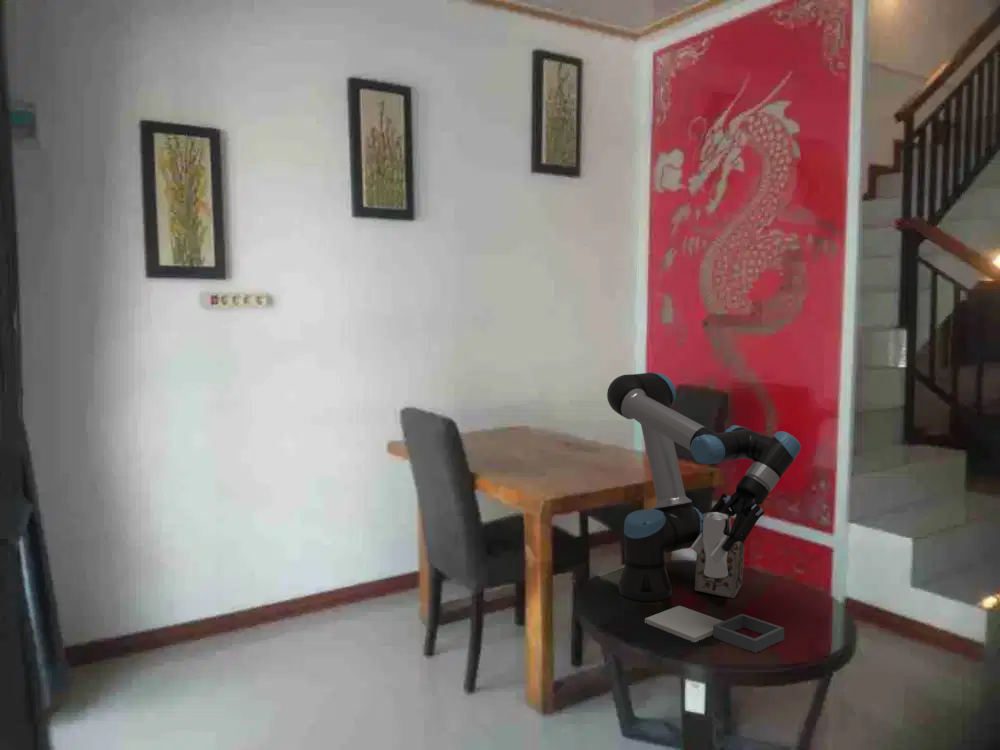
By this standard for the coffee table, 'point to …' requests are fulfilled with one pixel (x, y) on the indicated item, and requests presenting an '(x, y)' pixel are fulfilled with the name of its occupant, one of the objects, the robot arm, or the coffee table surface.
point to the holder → (728, 634)
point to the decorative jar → (727, 584)
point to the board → (684, 623)
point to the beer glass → (714, 542)
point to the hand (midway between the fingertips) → (704, 554)
